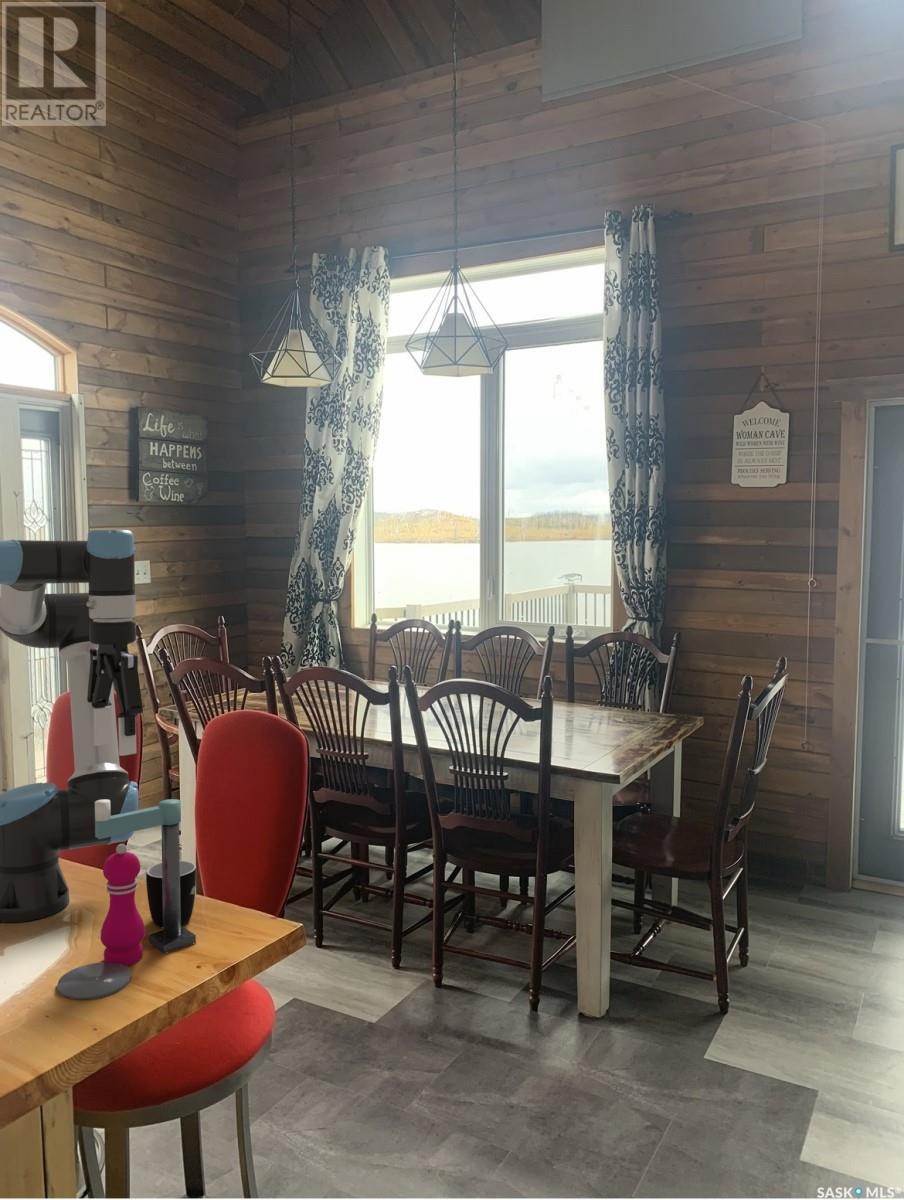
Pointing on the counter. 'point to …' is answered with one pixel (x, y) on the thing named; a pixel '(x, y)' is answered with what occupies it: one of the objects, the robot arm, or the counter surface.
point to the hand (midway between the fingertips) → (115, 749)
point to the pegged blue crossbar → (134, 818)
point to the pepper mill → (122, 909)
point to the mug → (157, 895)
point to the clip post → (171, 896)
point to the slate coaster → (94, 980)
